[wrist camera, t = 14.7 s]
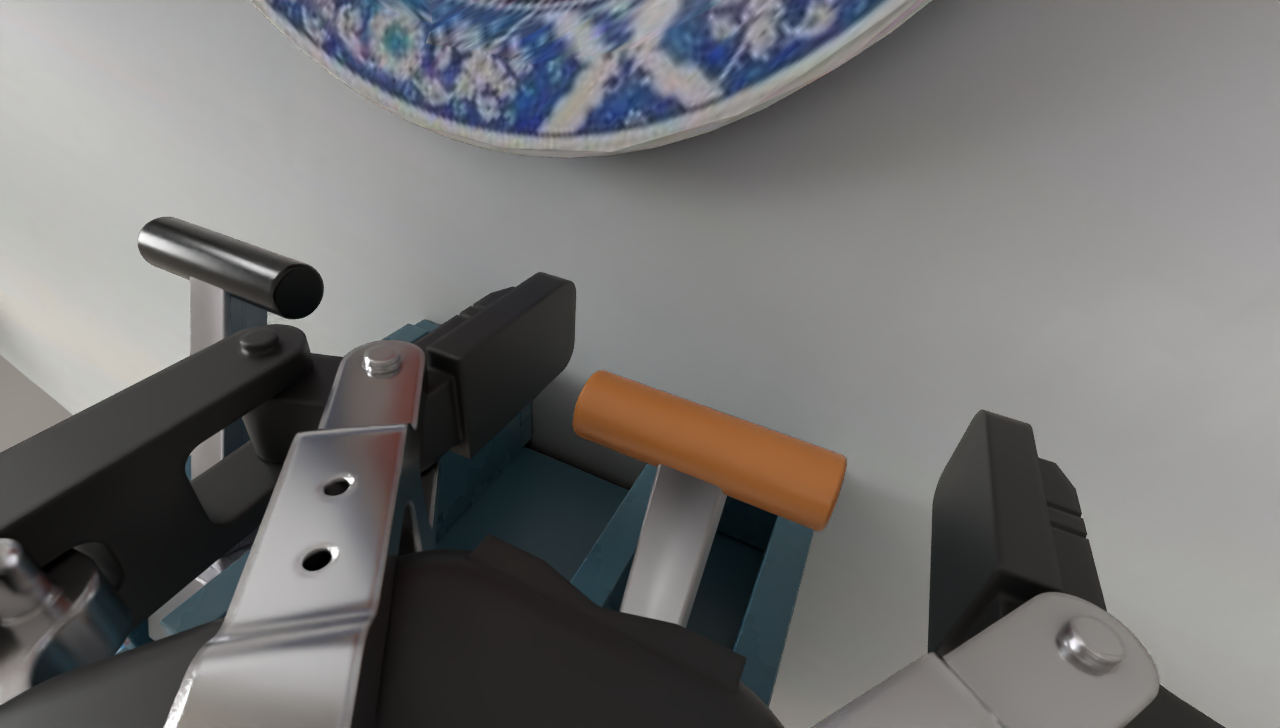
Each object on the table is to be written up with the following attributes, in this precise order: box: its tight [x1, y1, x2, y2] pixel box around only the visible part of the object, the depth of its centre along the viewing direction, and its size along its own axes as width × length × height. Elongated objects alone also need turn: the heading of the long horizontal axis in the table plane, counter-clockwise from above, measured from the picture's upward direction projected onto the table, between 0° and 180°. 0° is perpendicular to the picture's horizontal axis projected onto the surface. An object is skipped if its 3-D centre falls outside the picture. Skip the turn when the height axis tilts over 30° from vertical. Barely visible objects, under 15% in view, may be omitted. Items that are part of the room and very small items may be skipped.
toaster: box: [115, 446, 765, 655], centre depth 20 cm, size 11×16×14 cm
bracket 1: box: [123, 320, 532, 650], centre depth 18 cm, size 4×6×12 cm
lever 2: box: [573, 370, 847, 628], centre depth 11 cm, size 10×4×2 cm, turn 174°
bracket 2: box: [570, 464, 814, 707], centre depth 15 cm, size 4×6×12 cm
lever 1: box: [138, 217, 324, 641], centre depth 14 cm, size 10×4×2 cm, turn 174°
